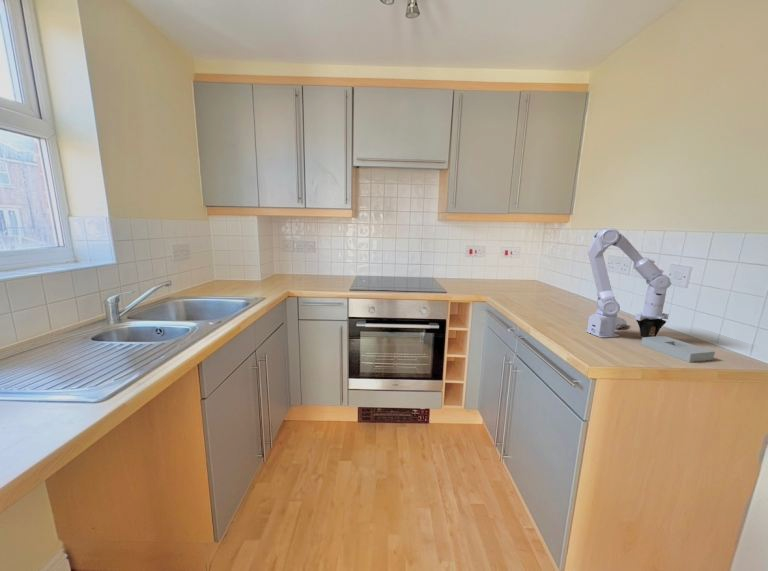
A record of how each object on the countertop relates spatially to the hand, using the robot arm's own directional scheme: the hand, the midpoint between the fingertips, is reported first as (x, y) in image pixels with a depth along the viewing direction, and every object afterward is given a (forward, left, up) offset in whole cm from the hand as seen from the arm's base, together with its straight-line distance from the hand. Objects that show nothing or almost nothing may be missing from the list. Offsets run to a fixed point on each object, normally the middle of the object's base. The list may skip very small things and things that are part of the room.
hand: (647, 336), depth 126 cm
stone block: (+3, +18, -2) cm, 19 cm away
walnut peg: (0, 0, -1) cm, 1 cm away
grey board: (-3, -12, -1) cm, 12 cm away
